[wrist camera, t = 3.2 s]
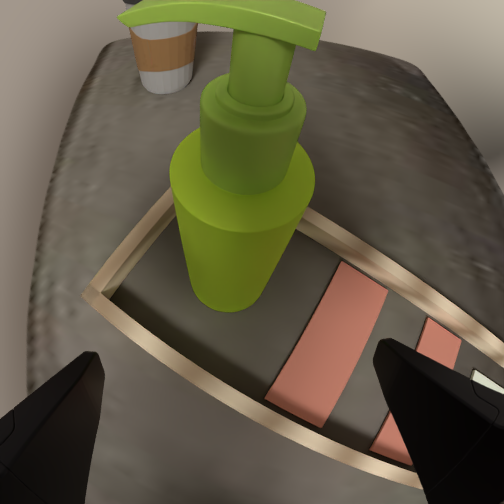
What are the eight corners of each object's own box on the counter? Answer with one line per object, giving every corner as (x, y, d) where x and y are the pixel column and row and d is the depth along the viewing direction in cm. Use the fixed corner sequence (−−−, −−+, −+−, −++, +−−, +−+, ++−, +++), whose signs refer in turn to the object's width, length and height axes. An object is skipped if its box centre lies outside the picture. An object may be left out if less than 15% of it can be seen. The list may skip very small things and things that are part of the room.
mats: (264, 398, 20) (264, 398, 20) (340, 262, 25) (341, 260, 25) (409, 465, 18) (411, 465, 18) (459, 340, 24) (461, 340, 23)
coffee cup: (207, 92, 32) (213, -22, 19) (138, 107, 30) (121, -9, 17) (192, 60, 35) (194, -35, 22) (132, 73, 33) (120, -24, 19)
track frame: (89, 302, 21) (80, 296, 20) (206, 164, 28) (205, 150, 26) (477, 500, 16) (489, 502, 14) (524, 373, 23) (535, 370, 21)
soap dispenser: (191, 229, 25) (177, -30, 7) (272, 252, 25) (376, 8, 7) (167, 295, 22) (63, 36, 4) (254, 321, 22) (400, 93, 4)
